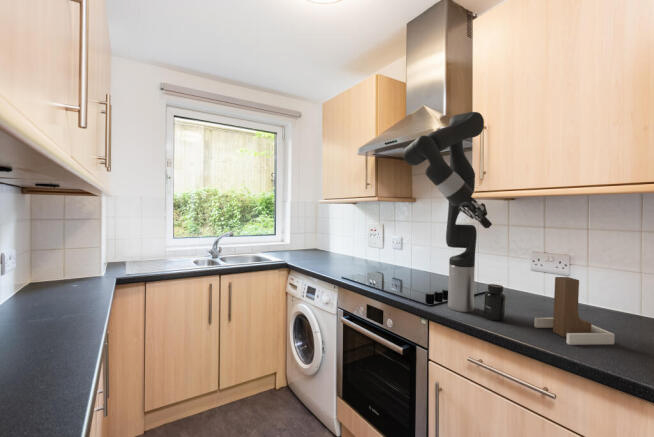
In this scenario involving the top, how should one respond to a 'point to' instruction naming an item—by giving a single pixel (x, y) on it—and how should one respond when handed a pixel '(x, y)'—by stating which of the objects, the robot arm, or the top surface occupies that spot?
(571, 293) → the wooden block
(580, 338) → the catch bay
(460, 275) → the robot arm
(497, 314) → the supplement bottle
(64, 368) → the top surface
